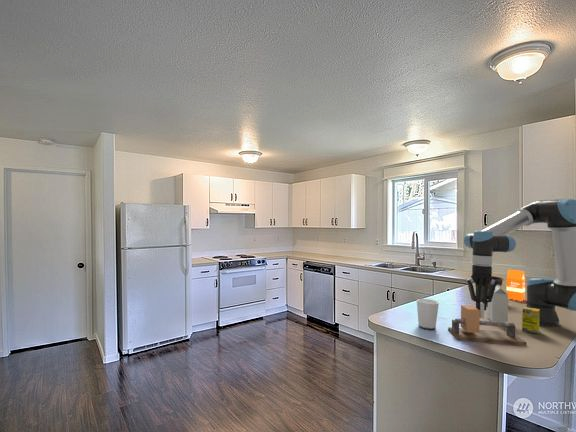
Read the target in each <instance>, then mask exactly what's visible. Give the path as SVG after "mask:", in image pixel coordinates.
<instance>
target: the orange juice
mask: <svg viewBox="0 0 576 432" xmlns="http://www.w3.org/2000/svg"><path fill="white" fill-rule="evenodd" d="M506 293H507V294H508V300H510V299H513V300H512V301H515V300H519V301H518V302H521V301H522V302H524V301H526V300H525V299H526V277H525V271H523V270H514V269H508V270H507V276H506ZM523 300H524V301H523Z"/></svg>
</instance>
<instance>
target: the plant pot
mask: <svg viewBox="0 0 576 432" xmlns="http://www.w3.org/2000/svg"><path fill="white" fill-rule="evenodd" d="M491 276H492V278H493V280H495V281H497V282H498V284H497V285H499V286H501V287H502V285H503V281H504V278H502V277H499V276H494V275H491ZM490 284H491V283H489V284H488V288H487V294H488V290H489V287H490ZM481 302H482V288H481Z"/></svg>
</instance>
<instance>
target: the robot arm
mask: <svg viewBox="0 0 576 432" xmlns="http://www.w3.org/2000/svg"><path fill="white" fill-rule="evenodd" d="M541 223H542V224H543V223H544V224H547V228H548V229H549V230H551V233H552V234H551V235H552V245H553V253H554V254H553V255H554V263H555V264H554V265H555V276H556V278H555V279H554V278H547V277H546V278H545V277H542V278H541V277H540V278H539V277H532V278H529V279H527V284H526V291H527V292H526V306H525V307H529V308H534V309H540V322H539V326H546V327H559V326H560V319H559V316H558V313H557V311H556V307H558V308H561V309H565V310H569V311H571V312H572V311H574V312H576V199H574V198H561V199H560V198H559V199H541V200H537V201H533V202H531V203H529V204H526V205H524V206H522V207H520V208H518V209H516V210H515V211H514V213H513V214H511V215H508V216H507V217H505V218H503V219H501V220H498V221H497V222H495V223H493V224H492V225H490V226H488V227H485V228H484V229H482V230H475V231H473V233H467V234H466V235H465V236H464V237H463V243H464V246H465V247H466V248H468V249H472V259H471V260H472V265H471V276H470V277H469V278H466V279H465V282H466V284H467V286H468V291H469V294H470V295H469V296H470V299H471V301H473V302H475V308H477V309H479V310H480V319H485V311H487V305H488V302H491V301H492V298H493V294H494V291H495V287H496V286H497V284H498V282H497V281H495V280H493V278H492V276H493V275H492V273H493V267H492V265H493V253H495V252H496V253H510V252H513V251H514V250H515V249H516V247H517V242H516V240H515V239H514V237H512V236H510V235H509V234H511V233H513V232H515V231H517V230H519V229H521V228H523V227H529V226H531V225H533V224H541ZM473 282H474V284H473ZM489 283H491V284H490V287H489V290H488V294H487V288H488V284H489ZM474 286H475V288H474ZM481 288H482V301H481Z"/></svg>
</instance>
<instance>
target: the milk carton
mask: <svg viewBox="0 0 576 432" xmlns="http://www.w3.org/2000/svg"><path fill="white" fill-rule="evenodd" d="M486 315H487V316H486V317H487V319H488V321H495V322H508V323H509V299H508V294H507V291H505V290H504V289H502V285H501V286H499V285H497V286H496V287H495V291H494V294H493V298H492V301H491V302H488V304H487V314H486Z"/></svg>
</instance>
